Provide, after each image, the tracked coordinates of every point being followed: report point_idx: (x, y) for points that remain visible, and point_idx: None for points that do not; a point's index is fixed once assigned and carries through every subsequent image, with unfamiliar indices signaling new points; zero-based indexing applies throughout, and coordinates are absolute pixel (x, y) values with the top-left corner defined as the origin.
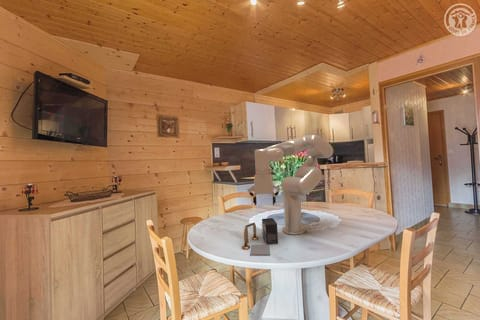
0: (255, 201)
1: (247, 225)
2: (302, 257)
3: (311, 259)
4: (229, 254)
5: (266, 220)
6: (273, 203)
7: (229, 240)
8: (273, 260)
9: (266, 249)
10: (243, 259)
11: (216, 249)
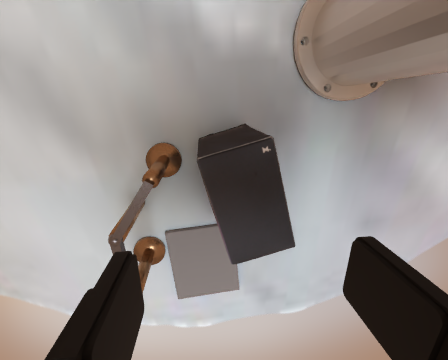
0: (126, 355)
1: (120, 236)
2: (326, 280)
3: None
4: None
5: (233, 199)
6: (357, 307)
7: (51, 191)
8: (248, 307)
9: (226, 262)
10: (164, 316)
11: (42, 275)
